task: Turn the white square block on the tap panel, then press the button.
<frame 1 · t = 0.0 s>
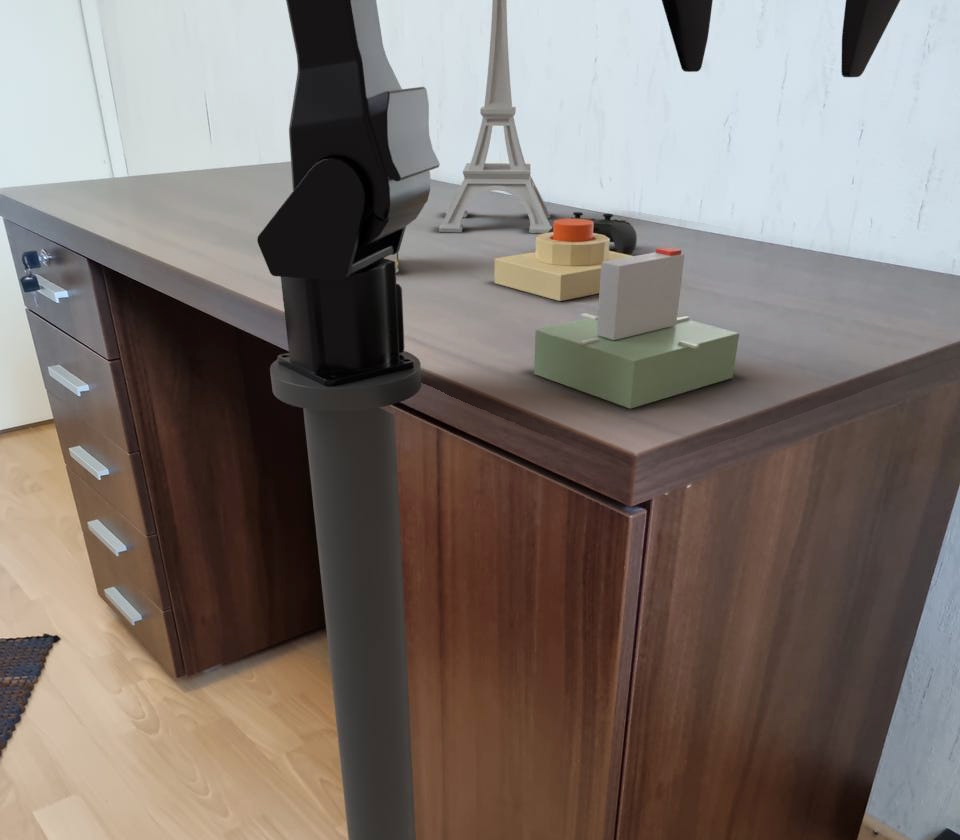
hand: (765, 74, 44), 18 cm above the table, tool pointing down, fingers open, 9 cm apart
eiffel tower: (496, 224, 114), on the table
button: (573, 232, 83), point 4 cm above the table, slide at 0.1 cm
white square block: (640, 292, 59), point 5 cm above the table, hinge at 0.0°
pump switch: (570, 283, 86), on the table
gaming controller: (593, 252, 99), on the table
tap panel: (632, 376, 62), on the table
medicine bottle: (357, 270, 91), on the table
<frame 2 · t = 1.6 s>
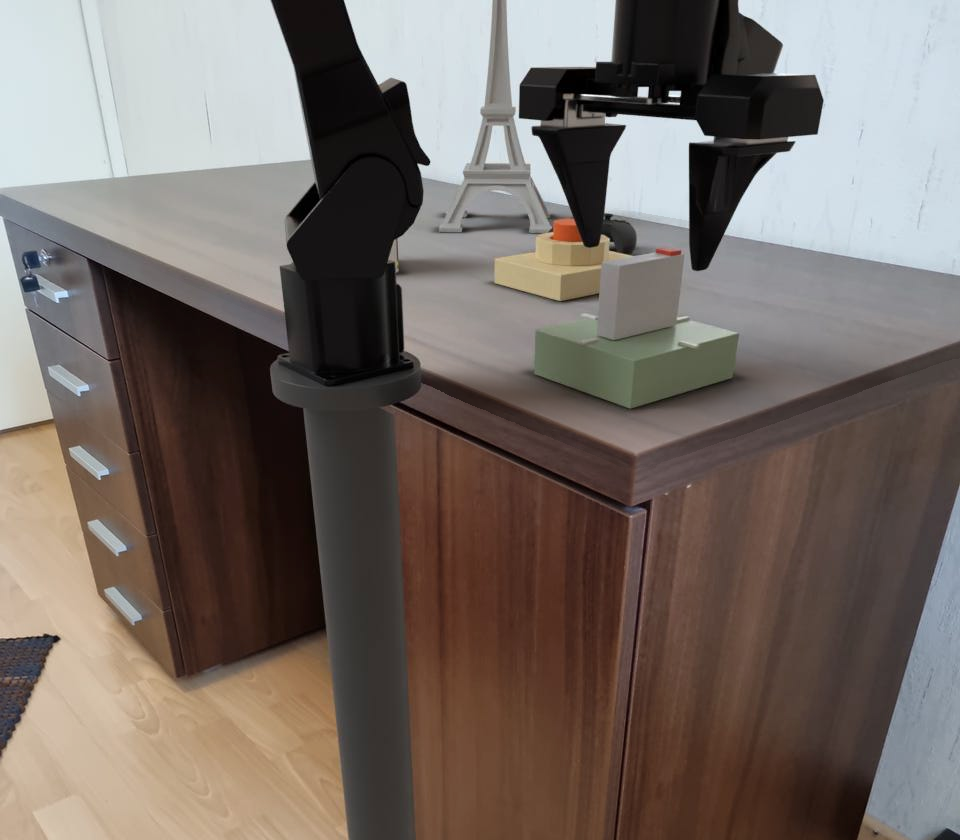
hand: (642, 257, 58), 8 cm above the table, tool pointing down, fingers open, 9 cm apart
nothing on the table moved.
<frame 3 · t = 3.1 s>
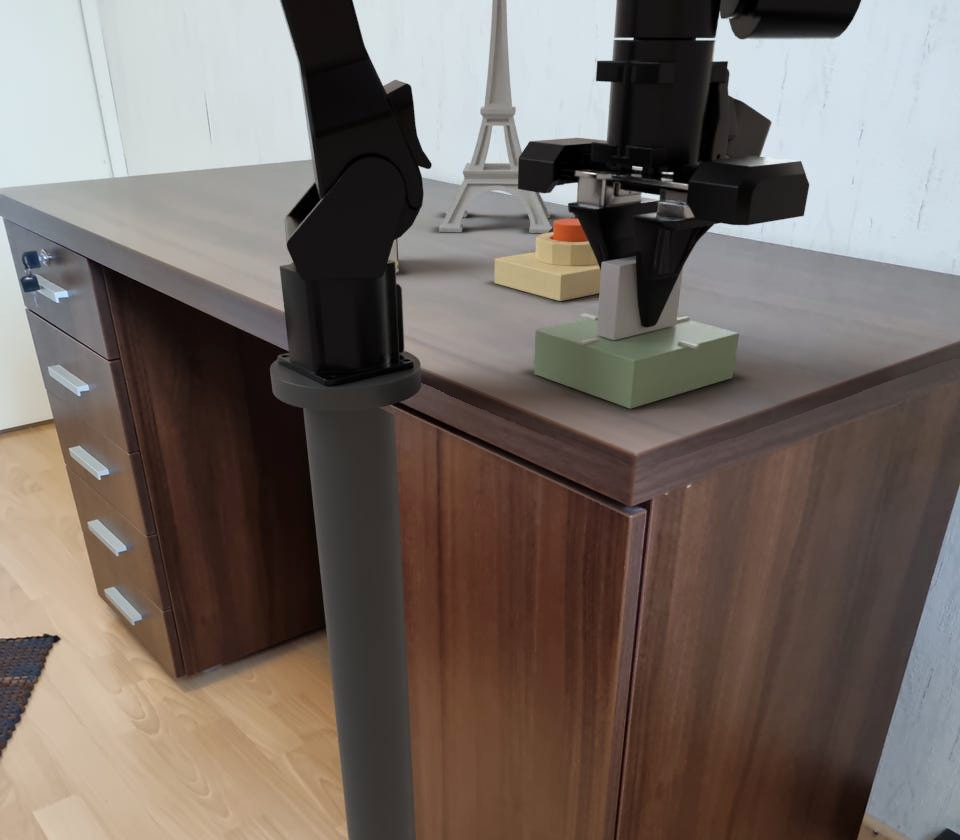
hand: (637, 323, 60), 4 cm above the table, tool pointing down, fingers closed on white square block, 2 cm apart
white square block: (640, 292, 59), point 5 cm above the table, hinge at 0.0°, touching gripper
everything else where it was.
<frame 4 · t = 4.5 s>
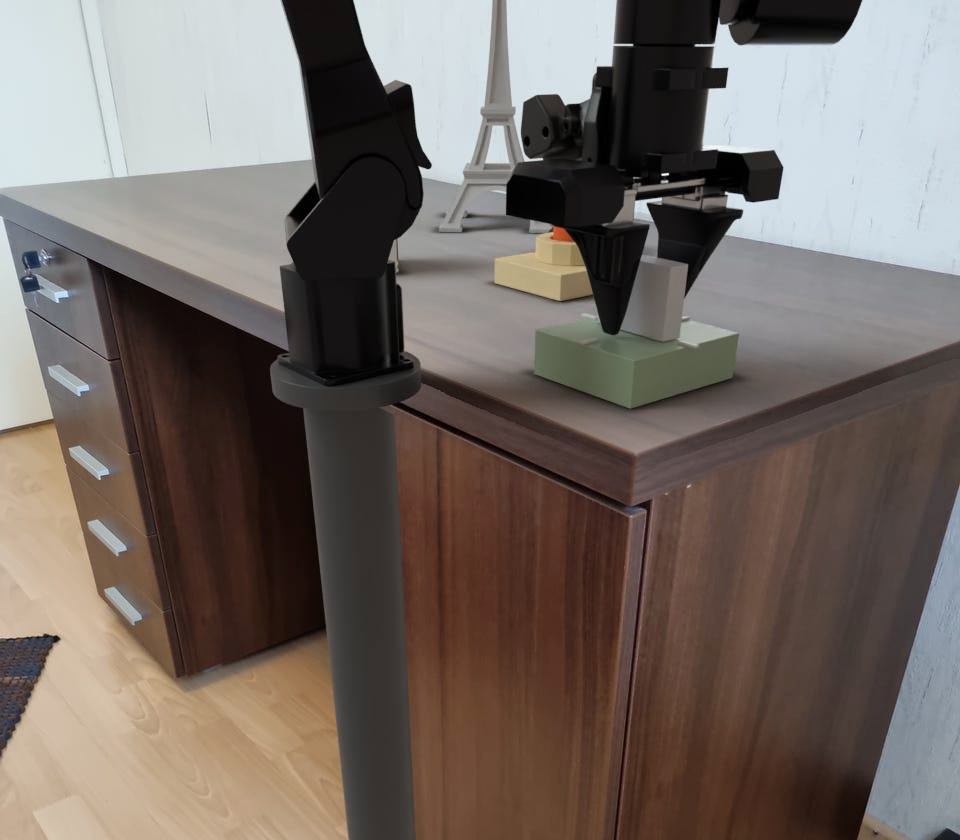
hand: (637, 327, 61), 3 cm above the table, tool pointing down, fingers open, 5 cm apart
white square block: (640, 292, 59), point 5 cm above the table, hinge at 89.4°
everything else where it was.
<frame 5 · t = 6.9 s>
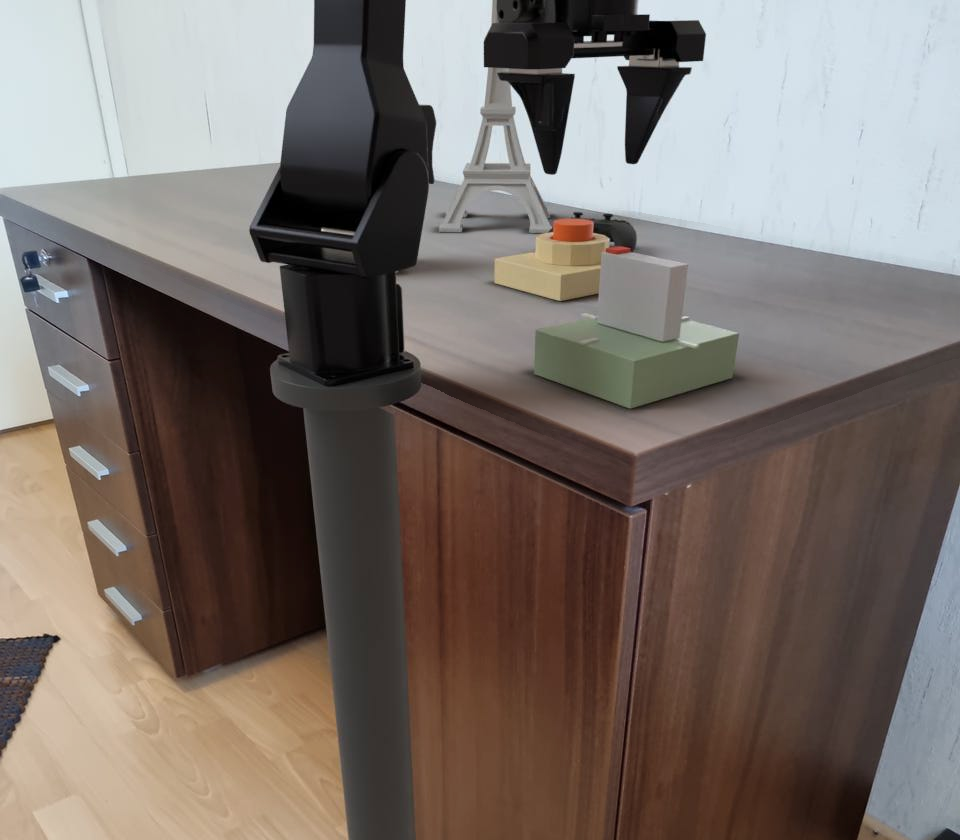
hand: (592, 168, 76), 10 cm above the table, tool pointing down, fingers open, 9 cm apart
nothing on the table moved.
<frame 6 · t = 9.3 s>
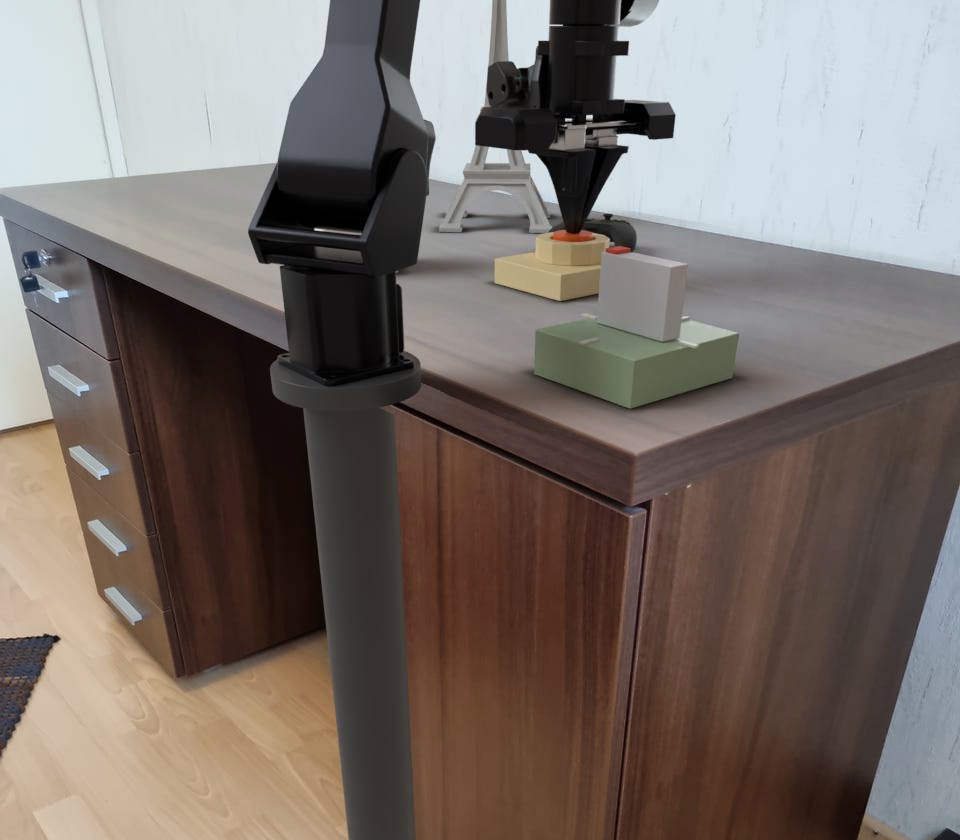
hand: (573, 233, 83), 4 cm above the table, tool pointing down, fingers closed, pressing on button
button: (572, 243, 84), point 4 cm above the table, slide at -0.9 cm, touching gripper
everything else where it was.
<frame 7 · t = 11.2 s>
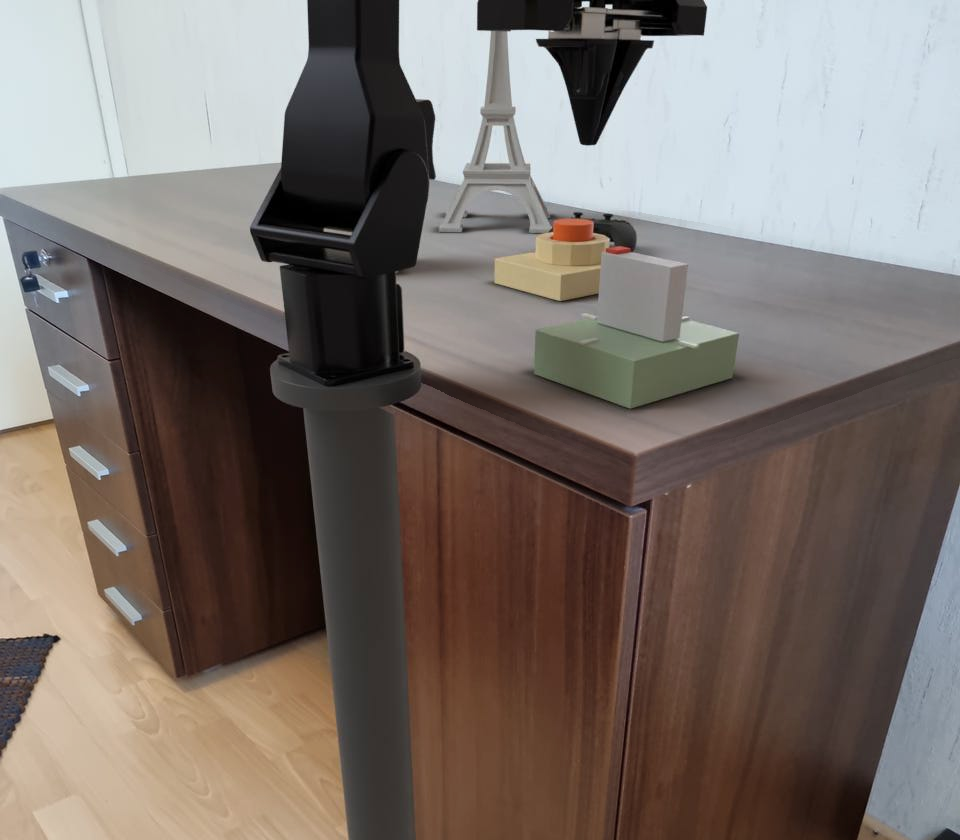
hand: (588, 145, 72), 12 cm above the table, tool pointing down, fingers closed
button: (573, 232, 83), point 4 cm above the table, slide at 0.1 cm
everything else where it was.
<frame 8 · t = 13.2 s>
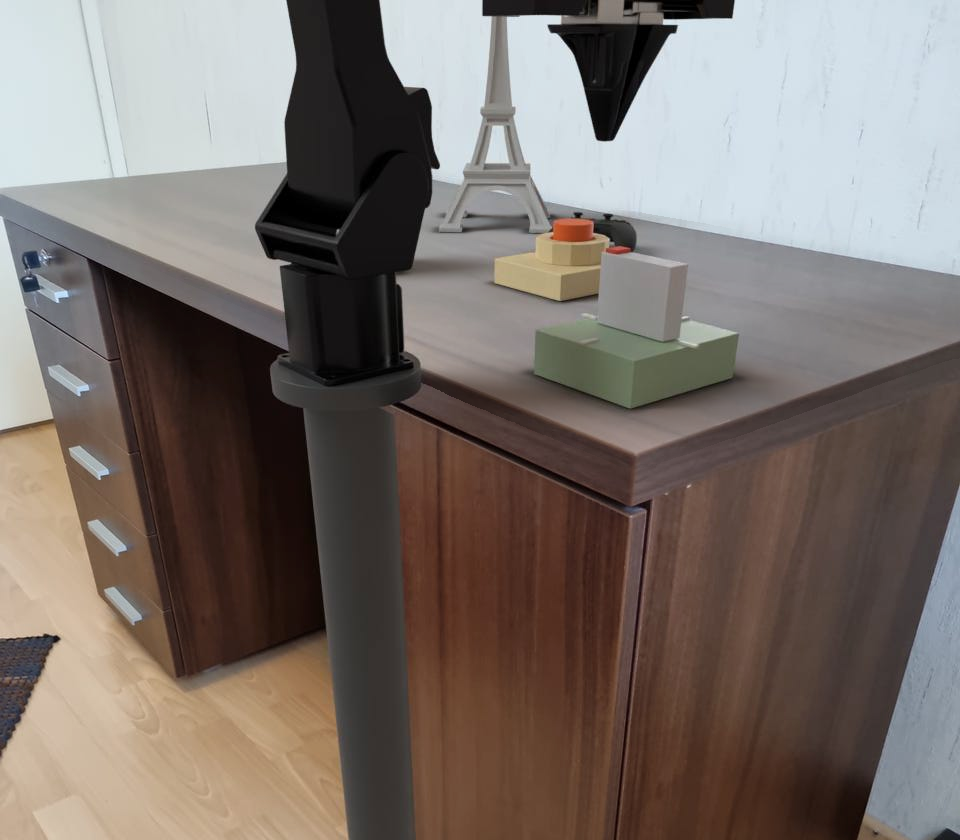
hand: (604, 140, 66), 13 cm above the table, tool pointing down, fingers closed
nothing on the table moved.
at the end: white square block at +89° (first picture: +0°); button pushed in 1.1 cm at the most during the clip, back to where it started at the end; button slide at 0.1 cm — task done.
